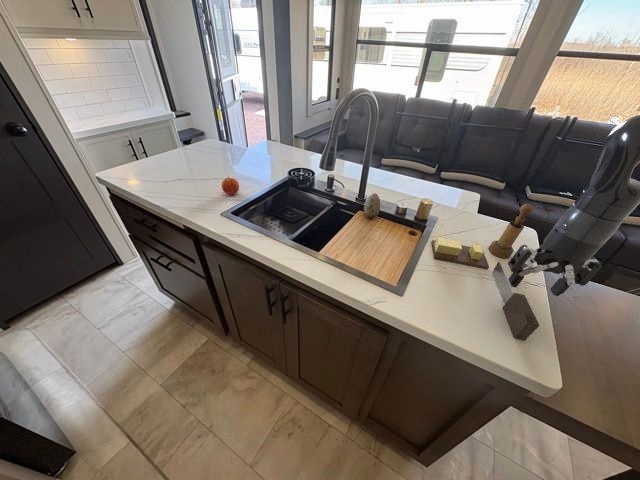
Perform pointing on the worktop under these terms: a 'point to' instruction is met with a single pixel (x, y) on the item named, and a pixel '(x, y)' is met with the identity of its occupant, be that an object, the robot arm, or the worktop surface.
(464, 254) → the butter board
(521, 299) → the knife
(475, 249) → the butter pat
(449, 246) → the butter stick
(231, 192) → the fruit
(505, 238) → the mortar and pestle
